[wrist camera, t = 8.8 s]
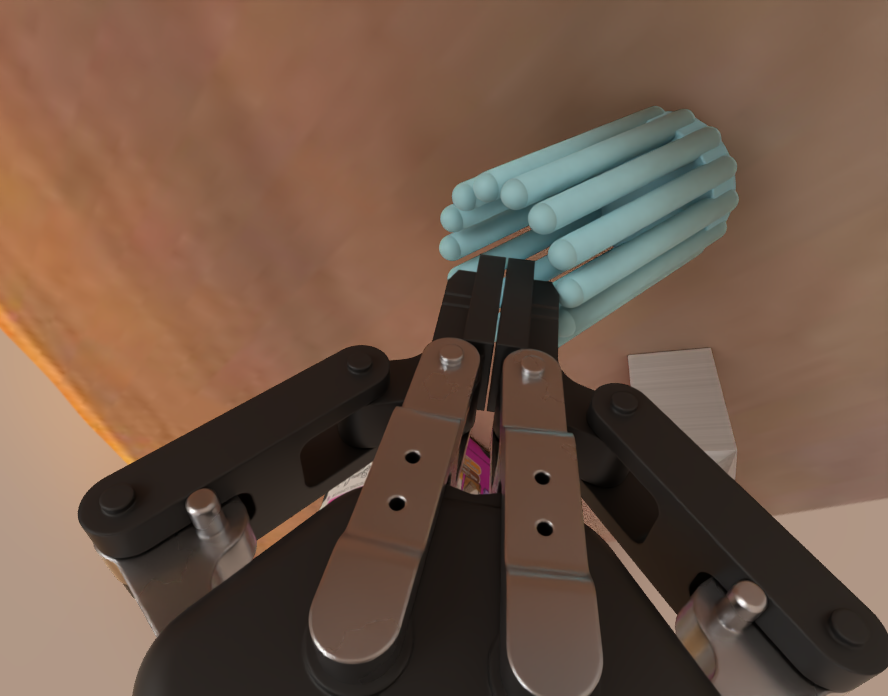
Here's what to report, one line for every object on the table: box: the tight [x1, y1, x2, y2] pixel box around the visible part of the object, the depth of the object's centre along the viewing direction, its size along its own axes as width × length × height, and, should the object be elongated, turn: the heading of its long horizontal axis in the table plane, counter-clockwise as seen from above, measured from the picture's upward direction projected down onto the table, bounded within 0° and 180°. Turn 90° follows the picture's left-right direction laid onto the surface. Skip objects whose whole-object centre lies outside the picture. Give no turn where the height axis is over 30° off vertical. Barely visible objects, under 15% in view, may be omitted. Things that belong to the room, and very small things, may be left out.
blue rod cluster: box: [439, 106, 739, 348], centre depth 18 cm, size 8×5×5 cm
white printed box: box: [628, 348, 737, 480], centre depth 26 cm, size 4×7×10 cm, turn 16°
